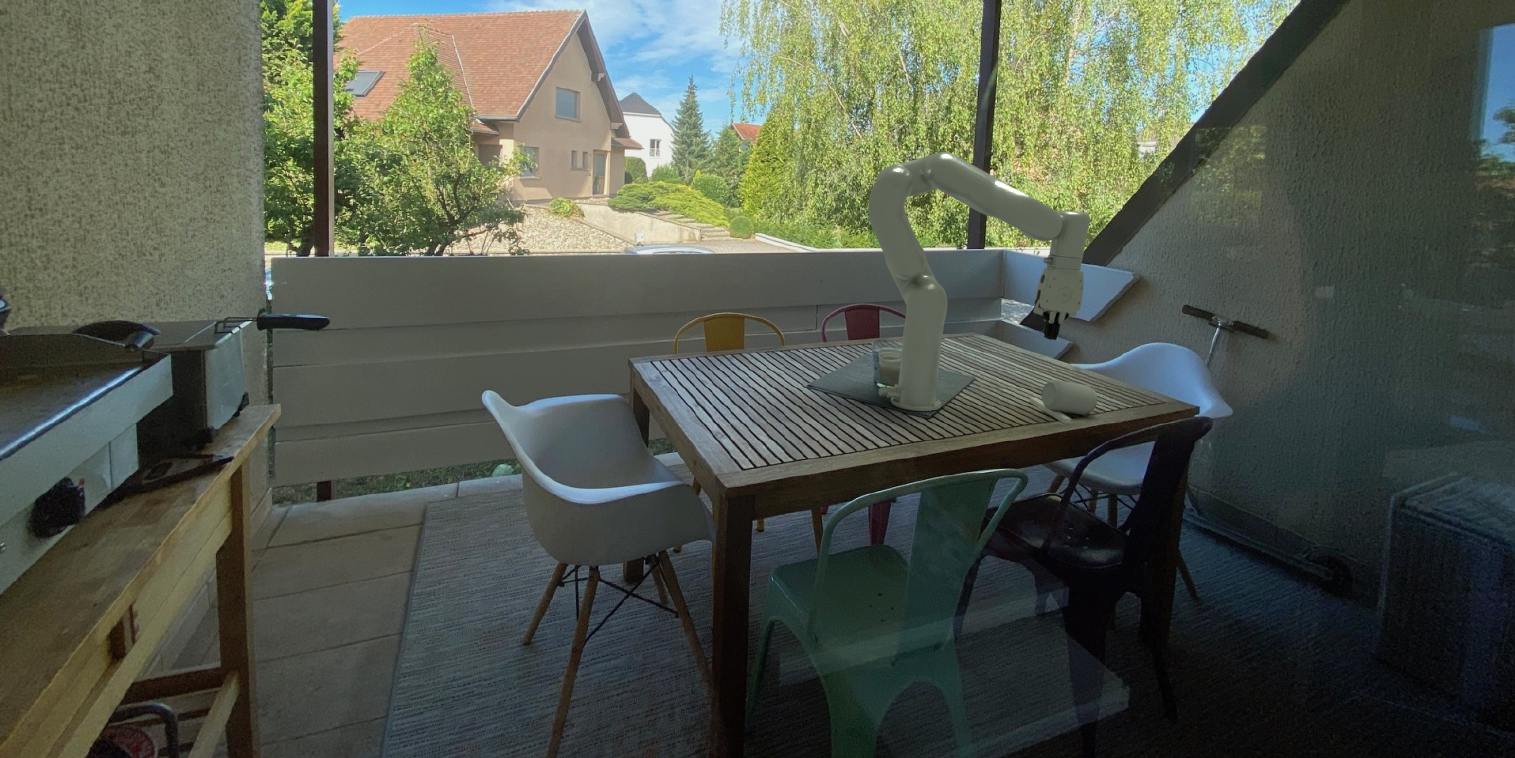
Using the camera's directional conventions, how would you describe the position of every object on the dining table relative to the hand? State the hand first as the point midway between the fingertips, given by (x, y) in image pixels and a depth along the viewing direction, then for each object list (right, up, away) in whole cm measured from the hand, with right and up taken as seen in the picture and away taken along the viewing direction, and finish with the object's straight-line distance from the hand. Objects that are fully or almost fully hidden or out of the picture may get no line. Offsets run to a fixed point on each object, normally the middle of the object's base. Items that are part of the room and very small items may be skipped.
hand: (1050, 338), depth 189 cm
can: (0, -14, +3) cm, 14 cm away
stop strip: (+2, -18, +6) cm, 20 cm away
